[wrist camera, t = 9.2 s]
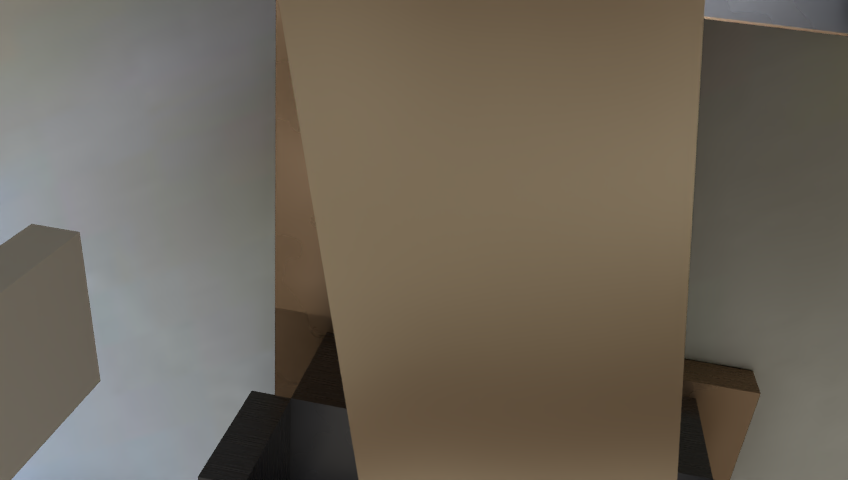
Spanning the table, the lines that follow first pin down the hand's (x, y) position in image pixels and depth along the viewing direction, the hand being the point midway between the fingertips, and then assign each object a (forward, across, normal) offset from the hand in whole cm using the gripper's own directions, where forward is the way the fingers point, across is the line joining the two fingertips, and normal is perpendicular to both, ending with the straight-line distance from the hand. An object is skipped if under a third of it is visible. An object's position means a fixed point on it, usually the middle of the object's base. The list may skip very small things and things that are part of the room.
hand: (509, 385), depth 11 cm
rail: (+5, 0, -1) cm, 5 cm away
